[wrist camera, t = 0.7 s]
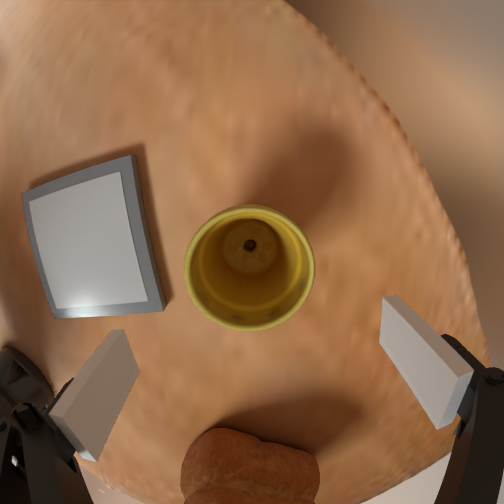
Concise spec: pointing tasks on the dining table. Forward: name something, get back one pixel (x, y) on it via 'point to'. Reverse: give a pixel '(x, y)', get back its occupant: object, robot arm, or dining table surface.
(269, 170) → the dining table surface
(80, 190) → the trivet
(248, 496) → the bread
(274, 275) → the plant pot
